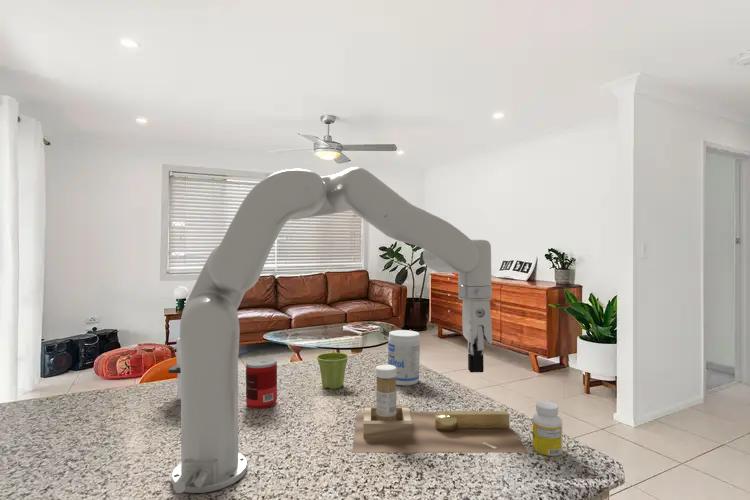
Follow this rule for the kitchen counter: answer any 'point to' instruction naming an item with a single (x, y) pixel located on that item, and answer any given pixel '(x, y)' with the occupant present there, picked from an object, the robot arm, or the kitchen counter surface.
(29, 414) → the kitchen counter surface
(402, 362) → the supplement tub
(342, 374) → the plant pot
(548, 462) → the kitchen counter surface
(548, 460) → the kitchen counter surface
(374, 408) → the socket
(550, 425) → the supplement bottle
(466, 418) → the lever
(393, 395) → the spice jar
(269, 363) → the canned food
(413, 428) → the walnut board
